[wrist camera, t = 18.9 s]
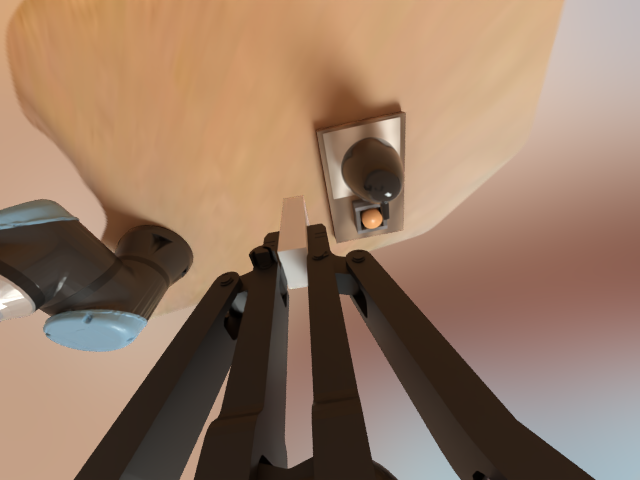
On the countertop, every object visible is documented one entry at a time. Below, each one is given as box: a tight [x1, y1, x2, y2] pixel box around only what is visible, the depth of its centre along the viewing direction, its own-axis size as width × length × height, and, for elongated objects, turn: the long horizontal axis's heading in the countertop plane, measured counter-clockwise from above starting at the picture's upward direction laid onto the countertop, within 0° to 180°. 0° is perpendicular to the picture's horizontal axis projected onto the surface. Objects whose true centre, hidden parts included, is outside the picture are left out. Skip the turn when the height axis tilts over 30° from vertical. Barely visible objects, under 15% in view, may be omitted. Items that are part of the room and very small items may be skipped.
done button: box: [360, 208, 382, 229], centre depth 50 cm, size 4×4×3 cm
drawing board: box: [316, 111, 406, 243], centre depth 48 cm, size 16×25×6 cm, turn 11°
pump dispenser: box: [341, 137, 405, 220], centre depth 39 cm, size 10×10×15 cm
